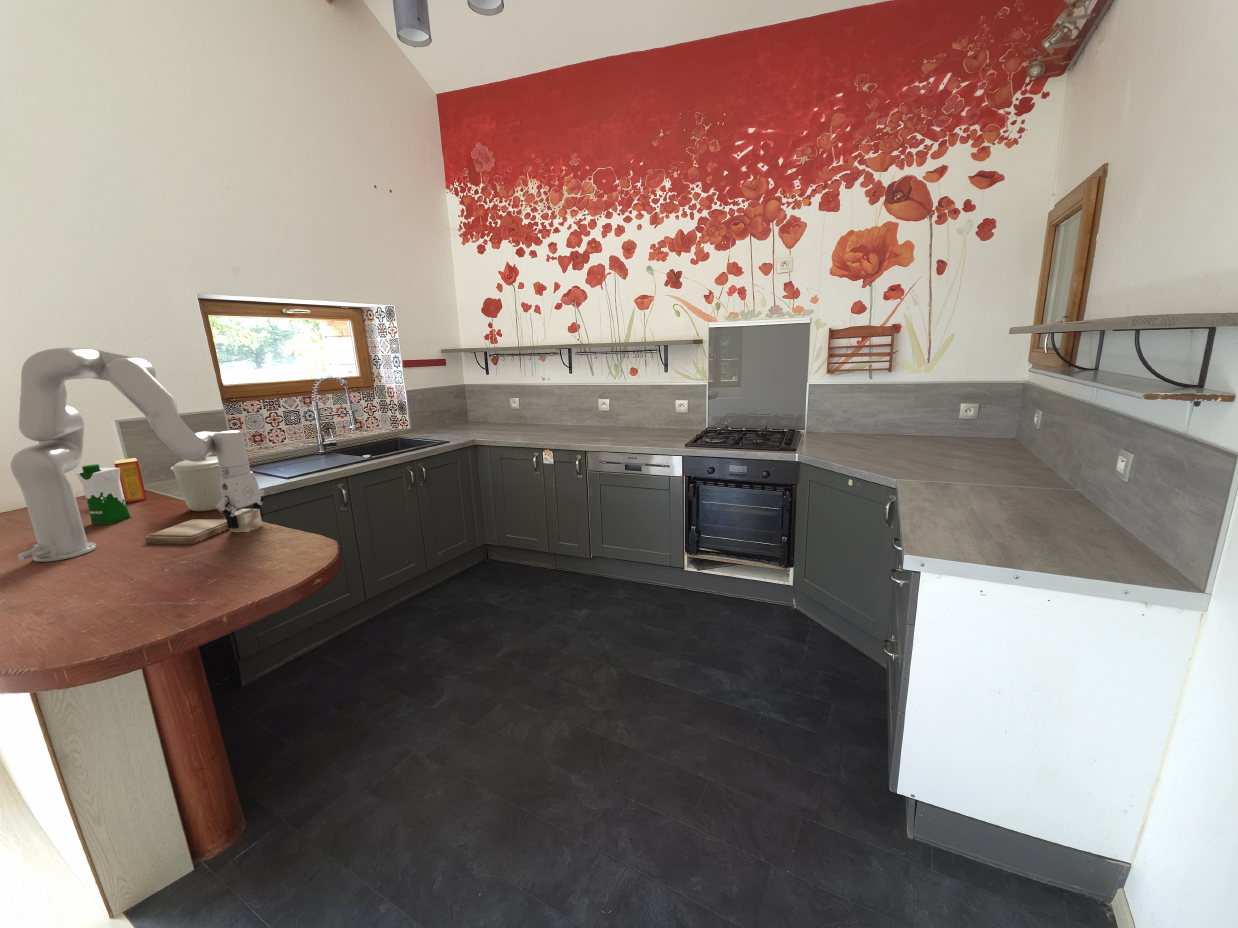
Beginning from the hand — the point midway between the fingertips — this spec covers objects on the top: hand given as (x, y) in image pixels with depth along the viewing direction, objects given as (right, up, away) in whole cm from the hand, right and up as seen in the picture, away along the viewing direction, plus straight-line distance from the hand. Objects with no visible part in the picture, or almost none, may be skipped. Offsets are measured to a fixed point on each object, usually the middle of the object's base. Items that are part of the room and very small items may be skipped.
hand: (246, 522), depth 168 cm
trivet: (-15, -3, -3) cm, 15 cm away
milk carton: (-56, -1, +14) cm, 58 cm away
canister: (-31, +3, +26) cm, 41 cm away
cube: (0, -2, 0) cm, 2 cm away
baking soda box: (-73, +5, +40) cm, 83 cm away
